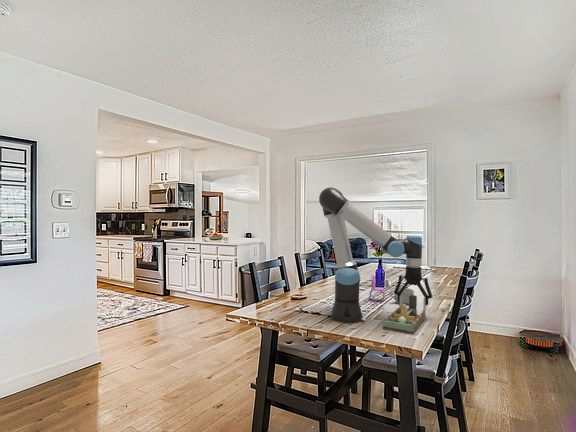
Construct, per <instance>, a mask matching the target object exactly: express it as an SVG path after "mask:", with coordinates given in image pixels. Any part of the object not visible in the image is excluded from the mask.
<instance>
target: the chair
mask: <svg viewBox="0 0 576 432" xmlns="http://www.w3.org/2000/svg"><path fill="white" fill-rule="evenodd" d="M370 282H371V289H370V291H369V297H368V300H367V301H368V302H369V301H370V300H371V296H372V292H373V291H374V292H375V291H378V292H381V293H382V301H381V303H382V302H384V301H385V295H386V292H385V289H384V287H379V286H378V287H376V282H377V281H376V277H375V275H374V274H371V281H370Z"/></svg>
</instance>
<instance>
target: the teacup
mask: <svg viewBox="0 0 576 432" xmlns="http://www.w3.org/2000/svg"><path fill="white" fill-rule="evenodd" d="M395 289H396V287H395V288H394V289H391V290H389V292H388V293H389V296H390V297H391V298H393V300H394V301H396V302H397V303H398V304H400V302H398V295H397V294H395V293H394V291H395ZM401 289H402V287H399V290H398V292H399V291H400V290H401ZM392 293H393V294H392ZM414 293H415V290H413V289H412V288H408V287H406V288H405V289H404V291H403V292H402V293H401V295H403V296H402V305H403V304H406V306H407V305H409V295H414Z"/></svg>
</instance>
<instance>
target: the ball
mask: <svg viewBox="0 0 576 432" xmlns="http://www.w3.org/2000/svg"><path fill="white" fill-rule="evenodd" d="M398 322H399V323H404V324H405V323H406V318H405V317H403V316H401V317H399V318H398Z"/></svg>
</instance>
